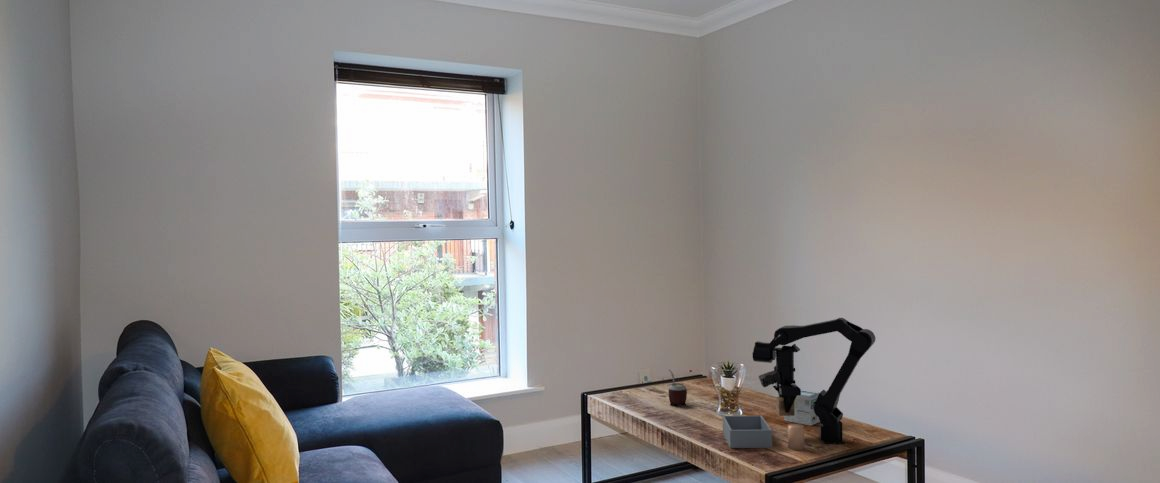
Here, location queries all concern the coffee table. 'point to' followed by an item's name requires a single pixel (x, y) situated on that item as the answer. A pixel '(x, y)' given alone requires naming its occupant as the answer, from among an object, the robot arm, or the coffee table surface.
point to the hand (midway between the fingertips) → (785, 410)
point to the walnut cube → (781, 409)
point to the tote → (747, 432)
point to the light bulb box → (804, 409)
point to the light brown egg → (795, 437)
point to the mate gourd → (677, 393)
